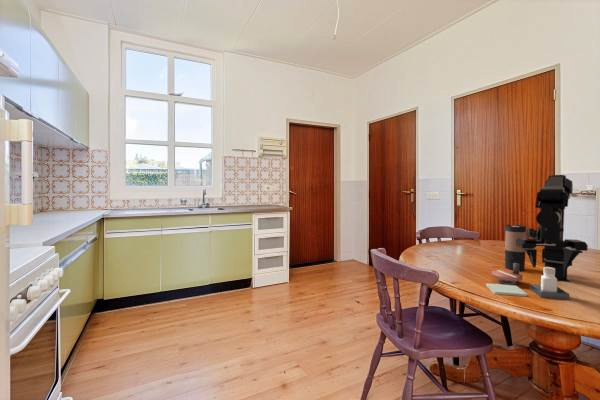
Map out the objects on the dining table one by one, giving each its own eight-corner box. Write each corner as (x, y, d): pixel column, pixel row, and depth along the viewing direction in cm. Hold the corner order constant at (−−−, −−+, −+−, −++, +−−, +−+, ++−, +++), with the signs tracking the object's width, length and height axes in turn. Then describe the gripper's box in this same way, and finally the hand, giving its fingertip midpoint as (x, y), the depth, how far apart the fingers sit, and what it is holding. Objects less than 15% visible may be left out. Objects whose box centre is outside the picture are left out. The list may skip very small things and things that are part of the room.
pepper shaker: (542, 295, 102) (542, 268, 102) (540, 291, 106) (541, 265, 105) (557, 297, 100) (557, 270, 99) (555, 293, 103) (555, 267, 103)
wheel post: (512, 280, 118) (512, 275, 118) (518, 285, 112) (518, 280, 112) (495, 279, 119) (495, 274, 119) (500, 284, 114) (500, 279, 114)
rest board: (516, 287, 110) (516, 285, 110) (527, 296, 101) (527, 294, 101) (486, 285, 113) (486, 283, 112) (494, 293, 104) (494, 291, 104)
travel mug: (519, 272, 129) (520, 227, 128) (501, 267, 135) (501, 225, 134) (528, 269, 132) (529, 226, 131) (510, 265, 139) (511, 224, 138)
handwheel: (529, 280, 111) (529, 267, 111) (504, 281, 110) (505, 268, 110) (508, 272, 121) (508, 260, 121) (485, 273, 120) (486, 261, 120)
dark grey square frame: (555, 291, 105) (555, 285, 105) (569, 299, 98) (569, 293, 98) (529, 289, 108) (529, 284, 108) (541, 297, 100) (541, 291, 100)
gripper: (568, 221, 107) (567, 263, 107) (510, 220, 112) (509, 260, 113) (589, 226, 96) (587, 272, 97) (523, 224, 101) (522, 268, 102)
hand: (549, 268), depth 102 cm, fingers open, 9 cm apart
